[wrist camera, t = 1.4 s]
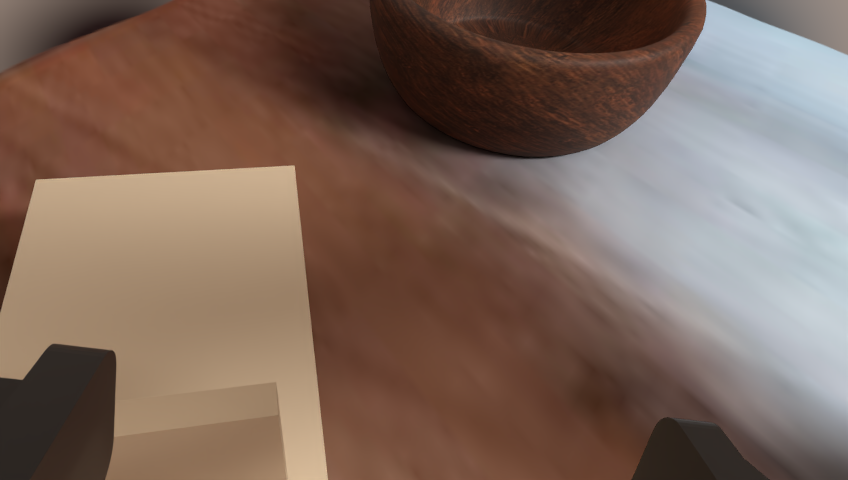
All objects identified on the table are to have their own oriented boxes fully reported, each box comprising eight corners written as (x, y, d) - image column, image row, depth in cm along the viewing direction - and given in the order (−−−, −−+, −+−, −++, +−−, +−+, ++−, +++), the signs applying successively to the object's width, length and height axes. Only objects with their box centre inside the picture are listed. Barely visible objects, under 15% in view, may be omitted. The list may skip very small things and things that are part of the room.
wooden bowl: (321, 27, 58) (320, -93, 51) (555, -5, 67) (584, -112, 59) (440, 218, 44) (463, 90, 36) (719, 146, 53) (784, 31, 45)
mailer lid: (331, 520, 24) (330, 408, 18) (-64, 586, 21) (-232, 482, 15) (294, 173, 36) (287, 33, 30) (39, 188, 33) (-29, 37, 27)
